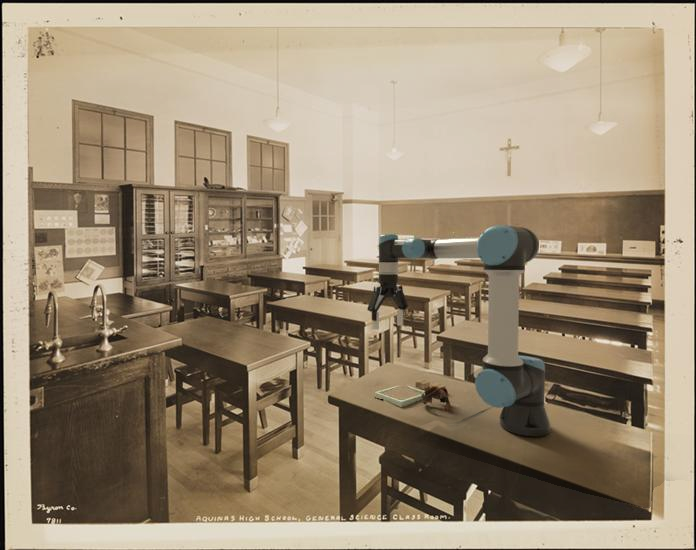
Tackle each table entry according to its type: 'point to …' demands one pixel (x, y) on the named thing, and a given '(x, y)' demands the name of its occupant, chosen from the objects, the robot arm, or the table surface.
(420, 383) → the oak cube
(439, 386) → the oak cube
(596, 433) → the table surface
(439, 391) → the broken pot
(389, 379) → the table surface
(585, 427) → the table surface
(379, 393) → the tray
